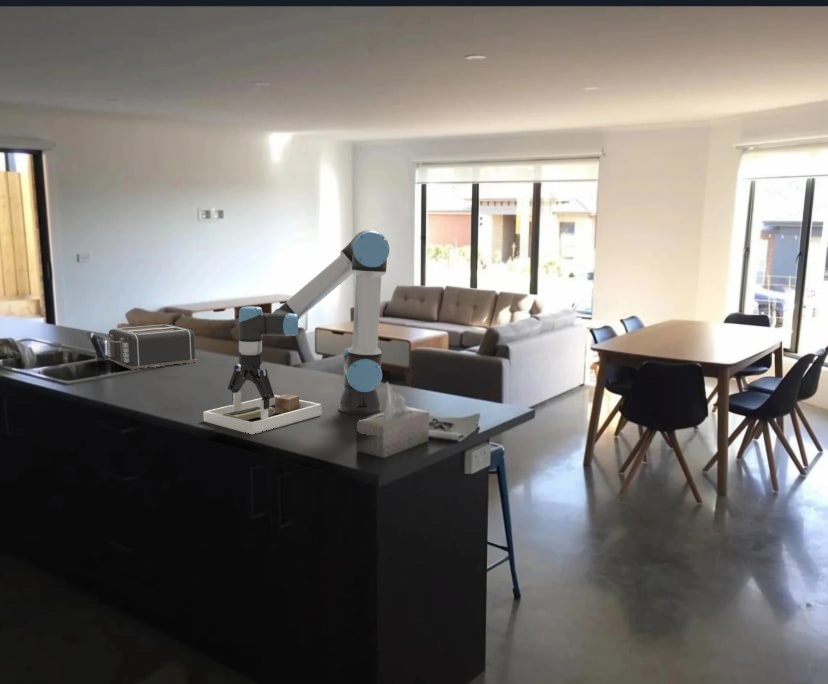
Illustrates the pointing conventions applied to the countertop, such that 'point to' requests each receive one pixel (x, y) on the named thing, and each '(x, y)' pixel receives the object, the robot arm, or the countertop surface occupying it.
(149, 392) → the countertop surface
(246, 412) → the computer
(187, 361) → the toaster
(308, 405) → the bin
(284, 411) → the block
